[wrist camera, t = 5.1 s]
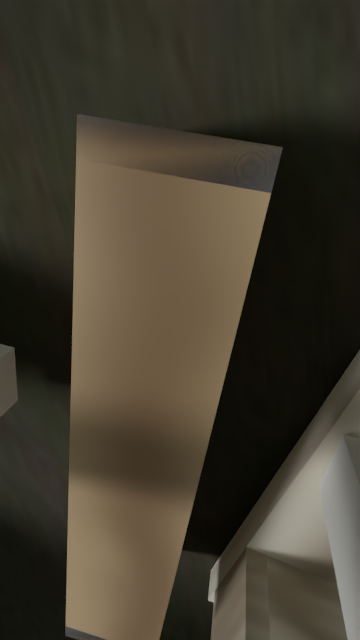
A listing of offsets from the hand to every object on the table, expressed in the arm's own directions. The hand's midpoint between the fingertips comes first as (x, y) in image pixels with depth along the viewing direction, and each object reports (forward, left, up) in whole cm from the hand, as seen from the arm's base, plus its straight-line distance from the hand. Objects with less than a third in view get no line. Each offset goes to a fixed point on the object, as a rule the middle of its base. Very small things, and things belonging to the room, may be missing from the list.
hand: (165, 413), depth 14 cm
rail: (0, 0, -1) cm, 1 cm away
